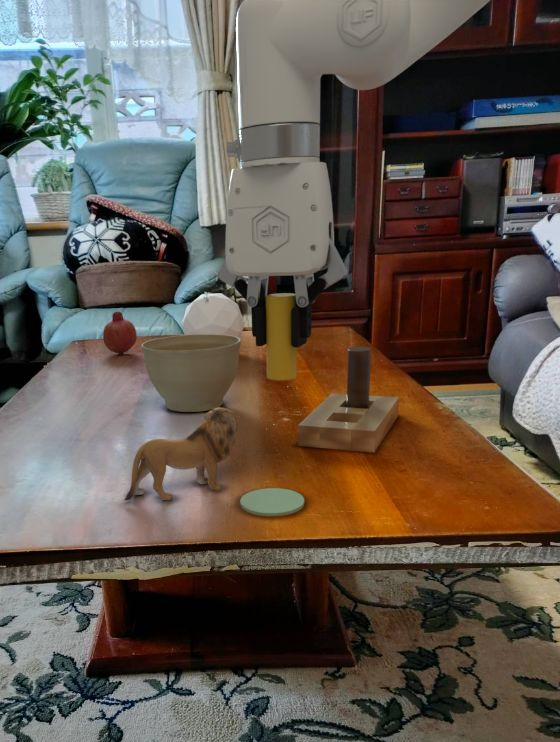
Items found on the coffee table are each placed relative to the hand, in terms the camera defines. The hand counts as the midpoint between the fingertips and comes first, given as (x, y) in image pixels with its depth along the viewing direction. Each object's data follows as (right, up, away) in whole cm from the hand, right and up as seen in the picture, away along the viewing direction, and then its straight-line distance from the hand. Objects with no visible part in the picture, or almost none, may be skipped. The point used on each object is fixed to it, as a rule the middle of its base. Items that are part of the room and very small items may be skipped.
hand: (281, 342), depth 71 cm
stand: (+13, -7, +26) cm, 30 cm away
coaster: (-1, -17, +4) cm, 17 cm away
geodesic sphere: (-5, +14, +85) cm, 86 cm away
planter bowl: (-9, -2, +44) cm, 45 cm away
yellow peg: (0, -3, +1) cm, 4 cm away
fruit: (-27, +16, +92) cm, 97 cm away
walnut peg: (+15, -6, +29) cm, 33 cm away
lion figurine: (-10, -16, +9) cm, 21 cm away
